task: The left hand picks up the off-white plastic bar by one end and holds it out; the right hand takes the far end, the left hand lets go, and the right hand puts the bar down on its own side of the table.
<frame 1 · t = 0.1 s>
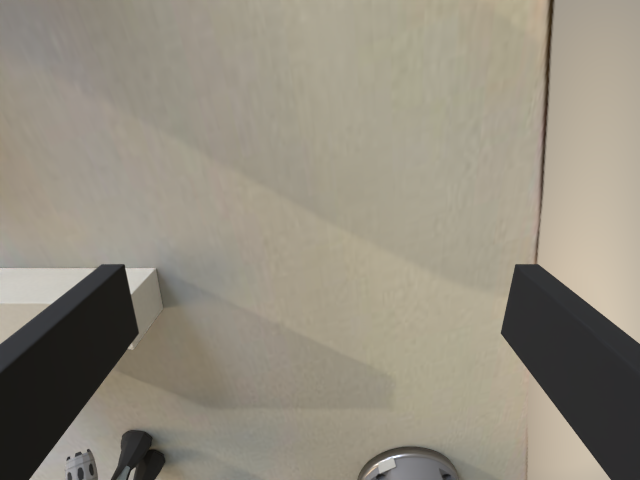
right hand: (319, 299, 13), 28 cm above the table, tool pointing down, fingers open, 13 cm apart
robot: (145, 448, 55), on the table
bar: (54, 288, 45), on the table
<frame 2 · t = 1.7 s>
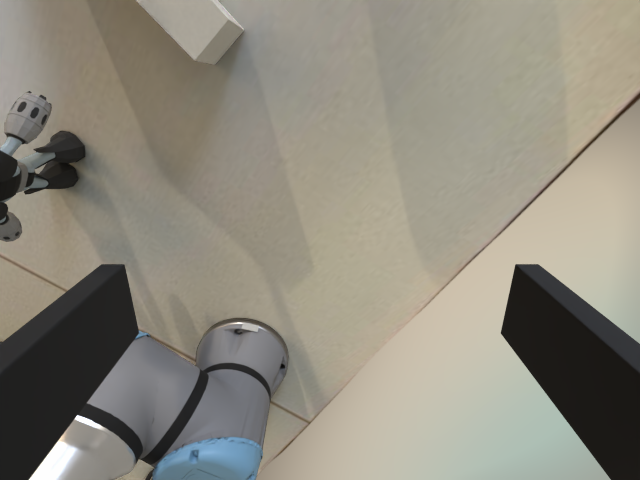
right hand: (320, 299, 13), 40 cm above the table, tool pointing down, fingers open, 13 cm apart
robot: (67, 160, 51), on the table
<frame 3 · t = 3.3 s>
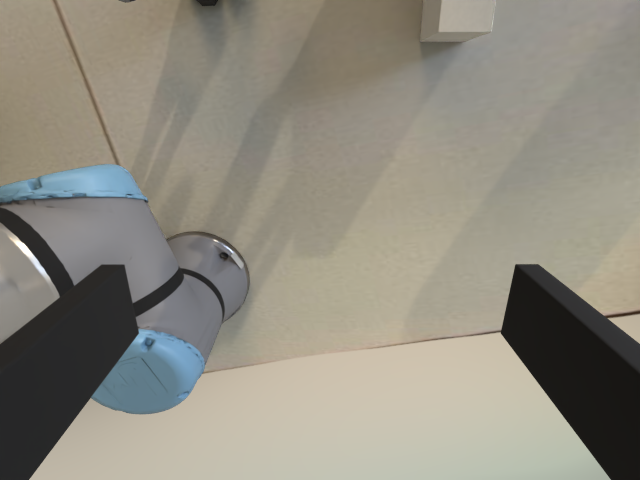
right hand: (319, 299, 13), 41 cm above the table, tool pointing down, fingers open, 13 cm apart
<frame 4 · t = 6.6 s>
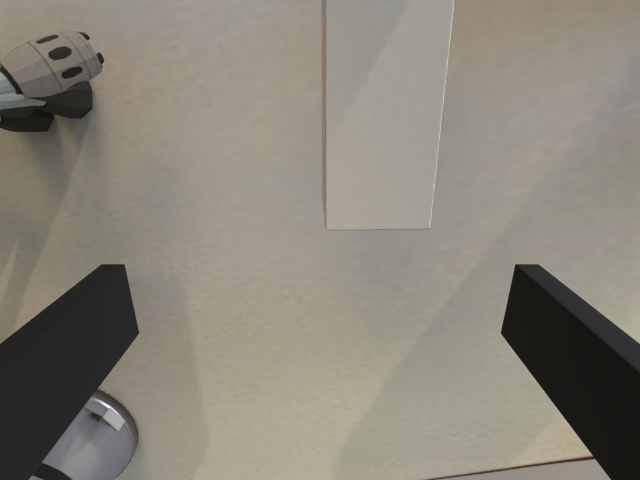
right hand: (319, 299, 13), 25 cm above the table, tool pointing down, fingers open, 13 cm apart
robot: (52, 100, 33), on the table
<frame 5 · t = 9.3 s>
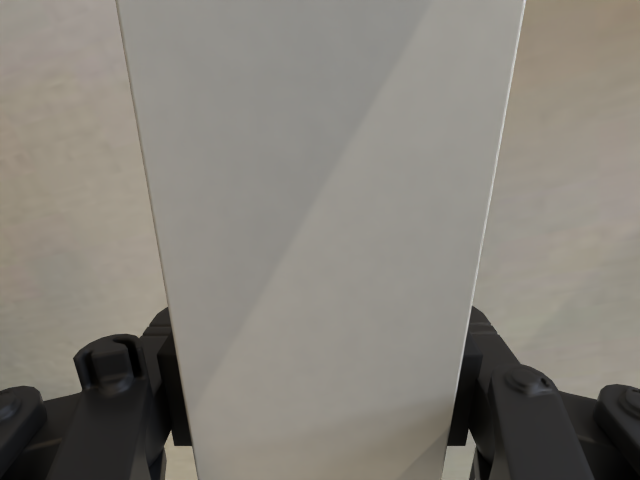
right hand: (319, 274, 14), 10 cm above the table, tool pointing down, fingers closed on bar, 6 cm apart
bar: (320, 13, 12), point 10 cm above the table, touching right hand, left hand
when the left hand's fingers open (10 cm above the table, at t = 9.9 s): bar stays where it is, held by the right hand.
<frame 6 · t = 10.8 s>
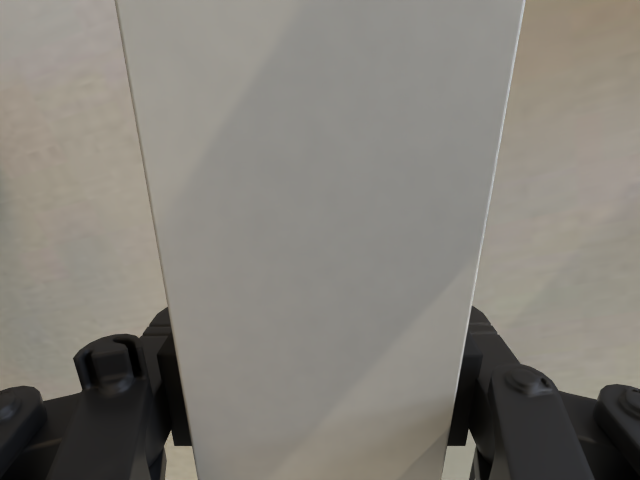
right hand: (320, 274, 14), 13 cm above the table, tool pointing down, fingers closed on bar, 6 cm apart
bar: (320, 13, 12), point 12 cm above the table, touching right hand
when the right hand's fingers open (2 cm above the table, at t = 13.0 s): bar drops 2 cm, on the table.
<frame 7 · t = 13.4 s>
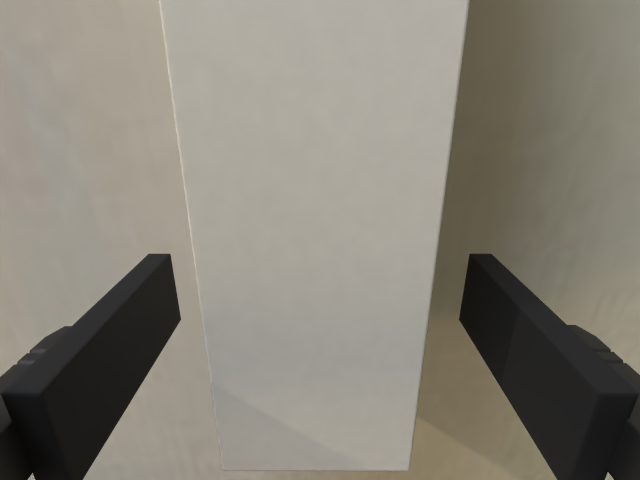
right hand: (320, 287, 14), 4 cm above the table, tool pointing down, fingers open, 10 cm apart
bar: (317, 24, 14), on the table
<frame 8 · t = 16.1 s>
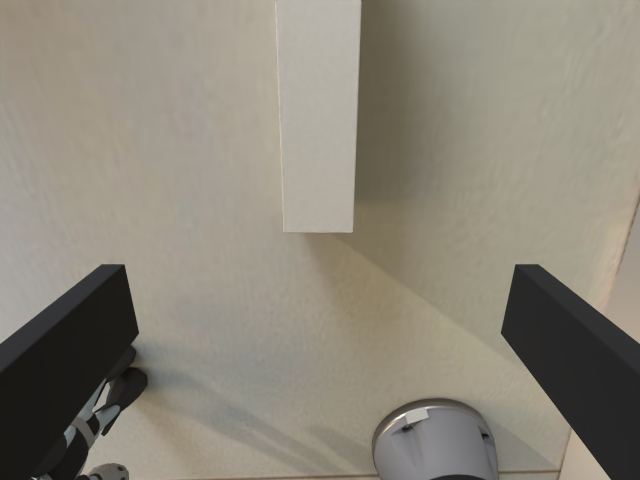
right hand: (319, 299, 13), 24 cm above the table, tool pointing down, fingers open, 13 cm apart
robot: (125, 365, 44), on the table
bar: (318, 64, 32), on the table
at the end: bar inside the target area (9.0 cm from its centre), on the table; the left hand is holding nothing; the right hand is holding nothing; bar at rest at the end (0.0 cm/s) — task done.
